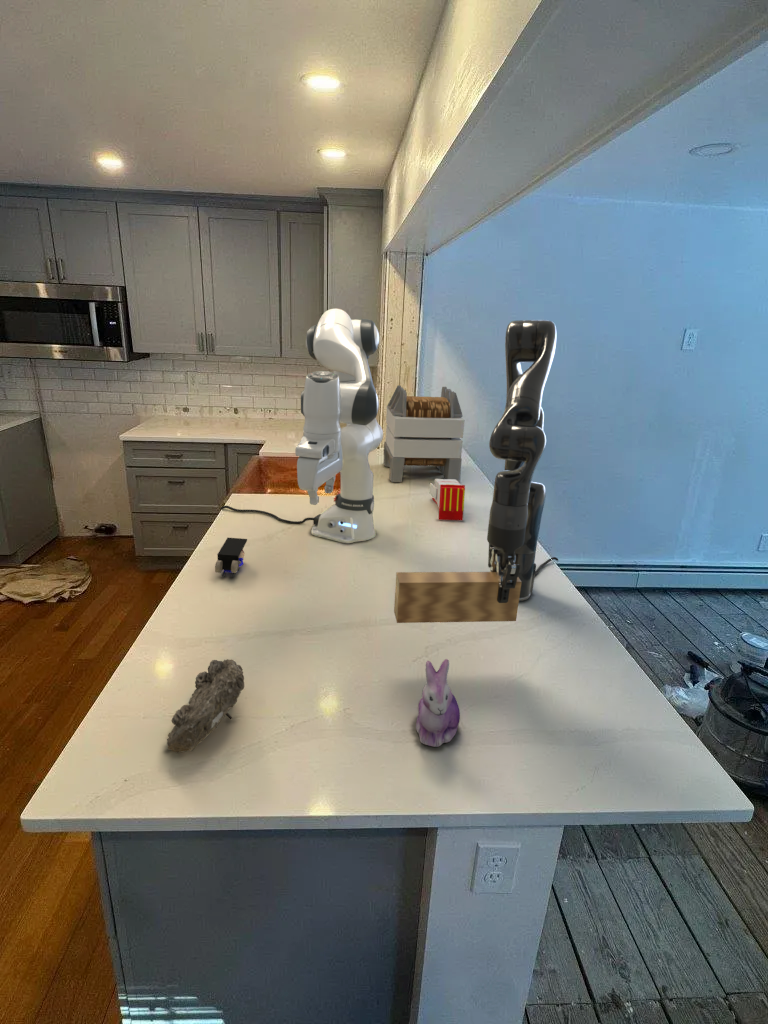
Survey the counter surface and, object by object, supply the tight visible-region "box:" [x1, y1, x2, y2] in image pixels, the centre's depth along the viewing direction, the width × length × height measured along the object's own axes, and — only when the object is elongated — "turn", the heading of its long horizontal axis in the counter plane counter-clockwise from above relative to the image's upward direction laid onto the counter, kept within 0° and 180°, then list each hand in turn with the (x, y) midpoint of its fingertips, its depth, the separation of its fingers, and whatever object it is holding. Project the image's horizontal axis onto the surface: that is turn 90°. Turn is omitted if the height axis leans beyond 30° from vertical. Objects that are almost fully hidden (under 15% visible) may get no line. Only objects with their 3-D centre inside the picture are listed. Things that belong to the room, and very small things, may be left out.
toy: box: [428, 478, 466, 521], centre depth 226 cm, size 12×13×30 cm
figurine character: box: [214, 537, 248, 578], centre depth 166 cm, size 7×8×15 cm
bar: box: [393, 571, 522, 624], centre depth 121 cm, size 26×5×9 cm, turn 96°
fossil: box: [166, 658, 245, 754], centre depth 106 cm, size 22×10×15 cm
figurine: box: [415, 658, 461, 748], centre depth 104 cm, size 9×10×15 cm
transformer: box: [383, 384, 465, 483], centre depth 268 cm, size 34×33×41 cm
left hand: (321, 498), depth 139 cm, fingers open, 8 cm apart
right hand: (498, 595), depth 122 cm, fingers closed on bar, 5 cm apart
